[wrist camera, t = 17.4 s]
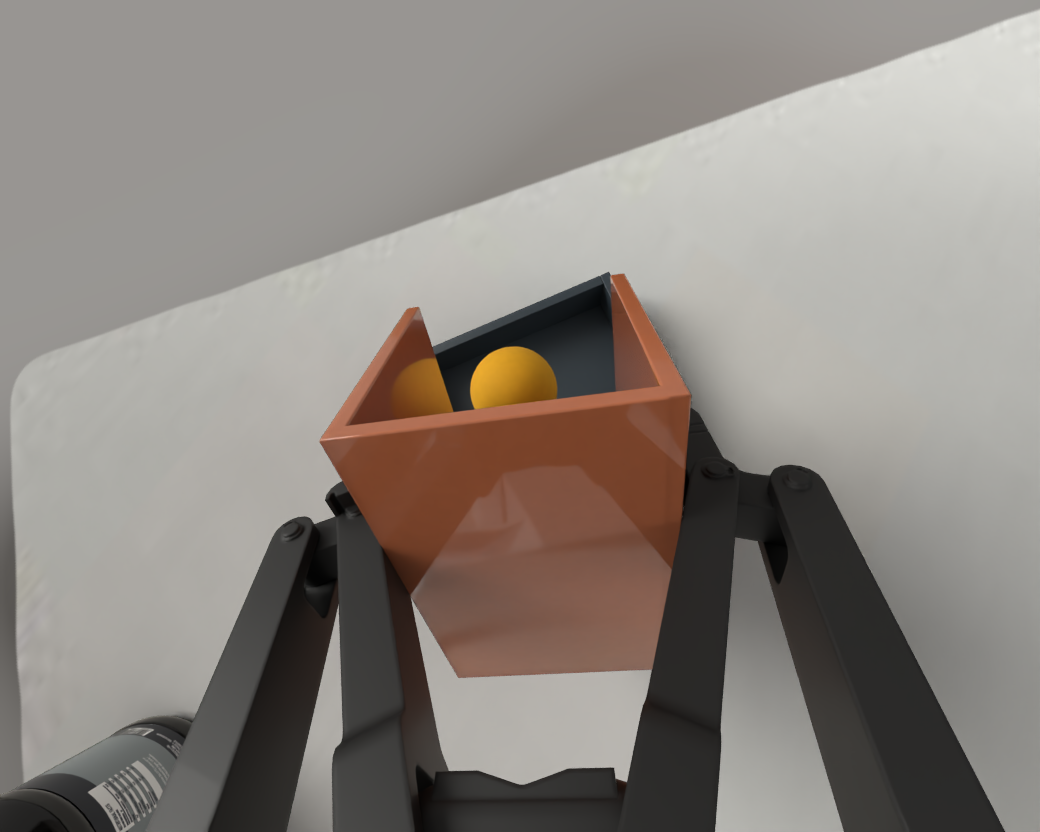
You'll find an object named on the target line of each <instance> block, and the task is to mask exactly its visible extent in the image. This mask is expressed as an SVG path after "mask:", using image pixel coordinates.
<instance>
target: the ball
mask: <svg viewBox="0 0 1040 832" xmlns="http://www.w3.org/2000/svg"><path fill="white" fill-rule="evenodd" d="M470 394H471V400H472V404H473V406H474V408H475V409H482V408H490V407H497V406H505V405H513V404H521V403H529V402H537V401H545V400H552V399H556V398H557V382H556V378H555V375H554V372H553V370H552V368H551V367H550V365H549V364H548V363H547V361H546V360H545V359H544V358H543V357H541V356H540V355H539V354H537V353H536V352H534V351H532V350H530V349H527V348H523V347H504V348H501V349H498V350H496V351H494V352H492V353H490V354H489V355H487V356H486V357H485V358H484V359H483V360H482V361H481V362H480V363H479V365H478V366H477V368H476V370H475V371H474V374H473V376H472V380H471V386H470Z"/></svg>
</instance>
